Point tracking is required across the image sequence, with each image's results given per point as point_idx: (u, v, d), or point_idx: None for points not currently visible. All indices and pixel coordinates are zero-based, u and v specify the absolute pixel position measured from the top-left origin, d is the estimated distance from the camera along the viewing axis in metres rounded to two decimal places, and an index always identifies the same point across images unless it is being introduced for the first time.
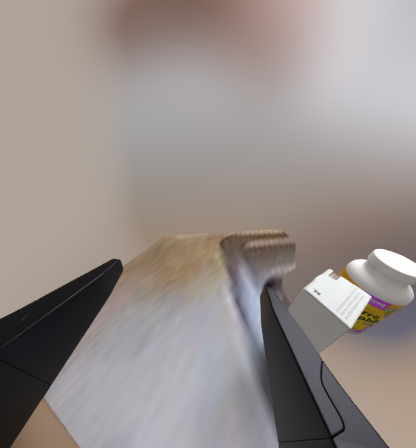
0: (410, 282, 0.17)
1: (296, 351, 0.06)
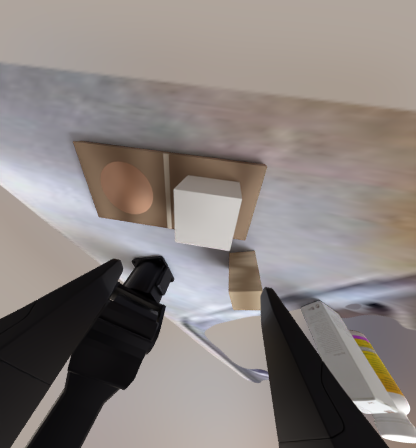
0: (376, 425, 0.23)
1: (296, 351, 0.06)
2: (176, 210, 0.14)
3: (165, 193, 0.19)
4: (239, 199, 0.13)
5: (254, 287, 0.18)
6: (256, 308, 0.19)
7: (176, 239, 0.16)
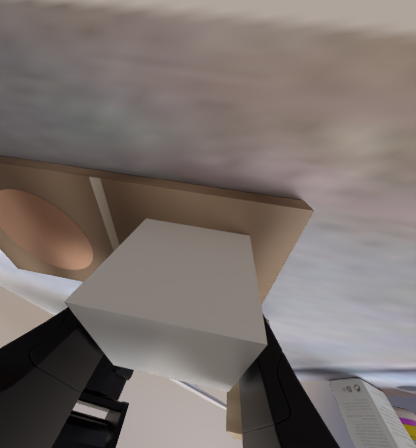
0: None
1: None
2: (94, 333, 0.06)
3: (111, 244, 0.10)
4: (259, 343, 0.04)
5: None
6: None
7: (114, 363, 0.07)
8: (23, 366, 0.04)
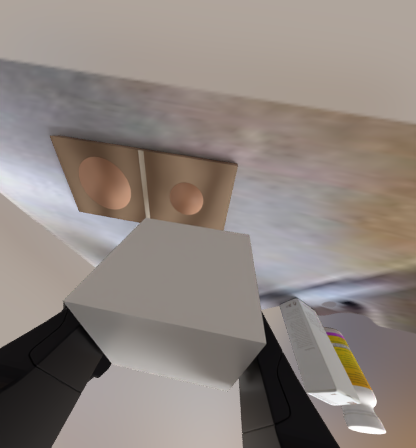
0: (344, 417, 0.24)
1: None
2: (93, 333, 0.06)
3: (142, 189, 0.19)
4: (257, 342, 0.04)
5: None
6: None
7: (113, 362, 0.07)
8: (23, 366, 0.04)
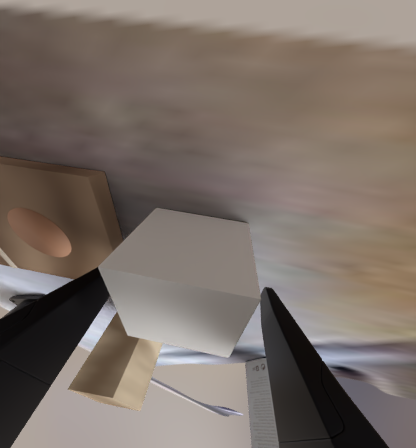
0: None
1: (296, 351, 0.06)
2: (117, 299, 0.07)
3: None
4: (254, 299, 0.05)
5: (107, 385, 0.10)
6: (128, 408, 0.12)
7: (129, 333, 0.09)
8: None
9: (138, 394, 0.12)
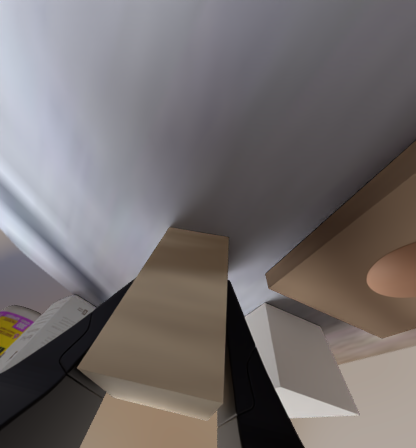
0: None
1: (232, 337, 0.06)
2: (330, 406, 0.09)
3: None
4: (291, 417, 0.12)
5: None
6: (116, 394, 0.06)
7: (284, 389, 0.09)
8: (55, 374, 0.04)
9: None
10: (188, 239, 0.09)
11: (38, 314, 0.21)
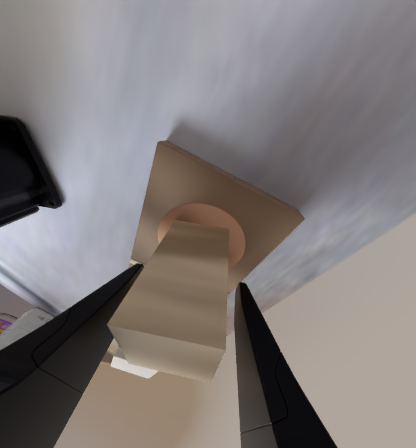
0: None
1: (256, 342, 0.06)
2: None
3: None
4: (148, 378, 0.23)
5: None
6: (132, 359, 0.07)
7: (116, 357, 0.19)
8: (25, 367, 0.04)
9: None
10: (192, 230, 0.10)
11: None
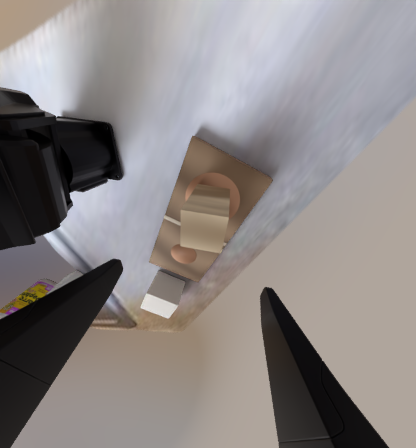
0: None
1: (296, 351, 0.06)
2: (166, 302, 0.27)
3: None
4: (168, 318, 0.30)
5: None
6: (184, 239, 0.14)
7: (148, 294, 0.26)
8: None
9: None
10: (208, 188, 0.17)
11: None
